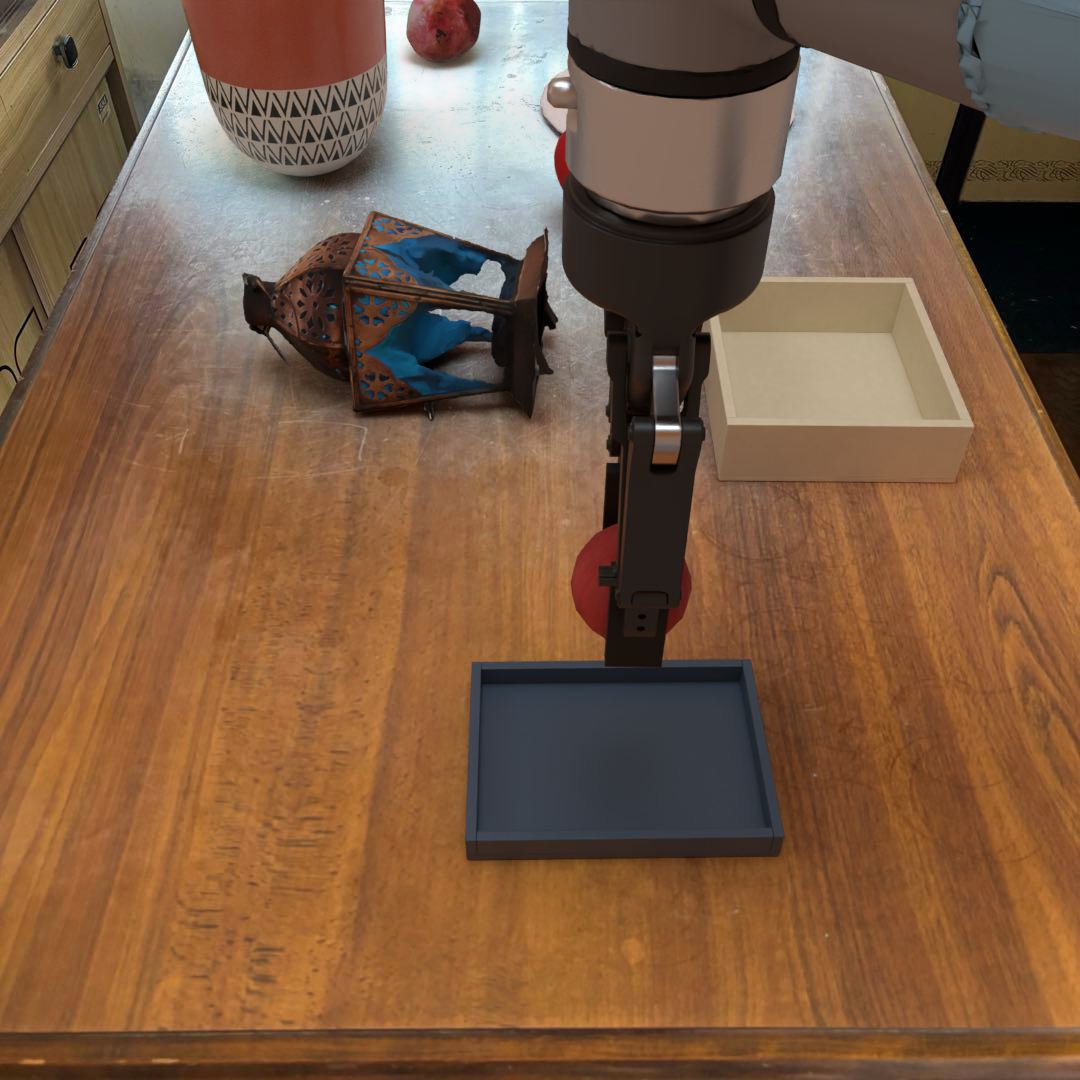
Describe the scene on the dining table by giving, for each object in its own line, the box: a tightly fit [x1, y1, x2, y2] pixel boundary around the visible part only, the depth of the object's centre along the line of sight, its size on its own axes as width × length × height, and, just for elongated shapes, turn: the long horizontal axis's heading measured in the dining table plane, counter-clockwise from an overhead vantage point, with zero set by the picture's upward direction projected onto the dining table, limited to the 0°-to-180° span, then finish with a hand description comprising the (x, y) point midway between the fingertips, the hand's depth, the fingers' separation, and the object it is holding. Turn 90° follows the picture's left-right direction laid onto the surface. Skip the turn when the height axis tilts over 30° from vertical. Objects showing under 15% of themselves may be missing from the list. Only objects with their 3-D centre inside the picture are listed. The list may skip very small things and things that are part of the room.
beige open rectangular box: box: [701, 276, 975, 484], centre depth 87 cm, size 20×18×5 cm
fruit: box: [405, 0, 482, 63], centre depth 134 cm, size 9×10×10 cm
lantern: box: [241, 210, 559, 421], centre depth 87 cm, size 16×16×25 cm
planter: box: [180, 0, 388, 177], centre depth 110 cm, size 20×20×21 cm
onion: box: [570, 524, 693, 640], centre depth 54 cm, size 6×6×8 cm
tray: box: [464, 658, 786, 861], centre depth 64 cm, size 17×12×2 cm
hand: (629, 608), depth 55 cm, fingers closed on onion, 6 cm apart
